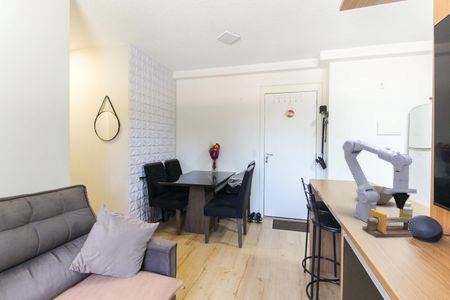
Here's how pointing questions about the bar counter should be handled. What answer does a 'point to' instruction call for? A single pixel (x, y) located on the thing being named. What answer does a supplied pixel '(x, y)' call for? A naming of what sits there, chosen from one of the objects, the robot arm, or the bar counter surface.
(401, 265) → the bar counter surface
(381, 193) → the ceramic bowl
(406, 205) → the supplement bottle
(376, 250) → the bar counter surface
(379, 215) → the collar
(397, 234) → the pipe stand
